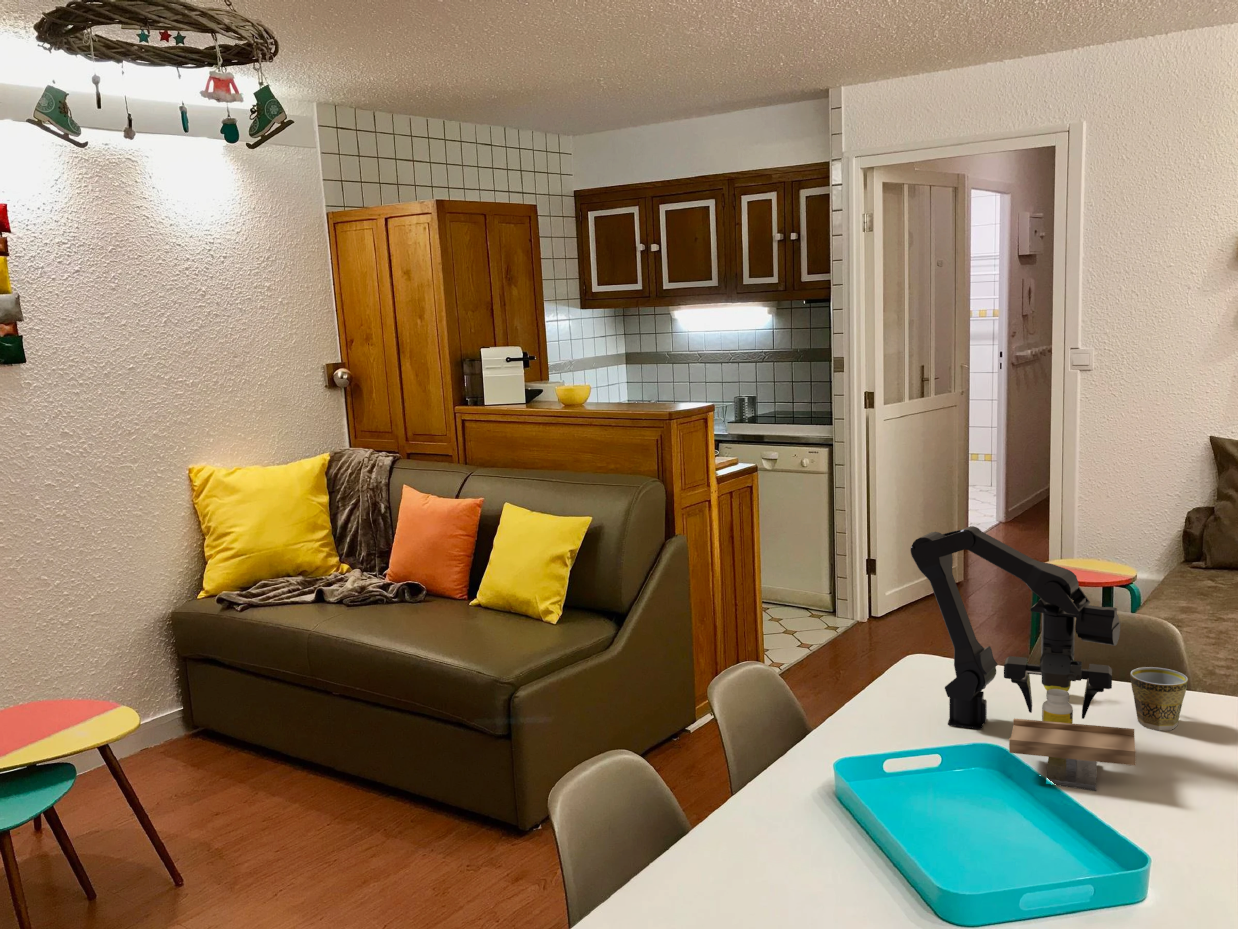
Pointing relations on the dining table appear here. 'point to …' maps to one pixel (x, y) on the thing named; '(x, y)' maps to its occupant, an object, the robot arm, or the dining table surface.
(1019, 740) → the balance board
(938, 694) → the dining table surface
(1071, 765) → the board stand
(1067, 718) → the supplement bottle
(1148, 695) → the ceramic cup
